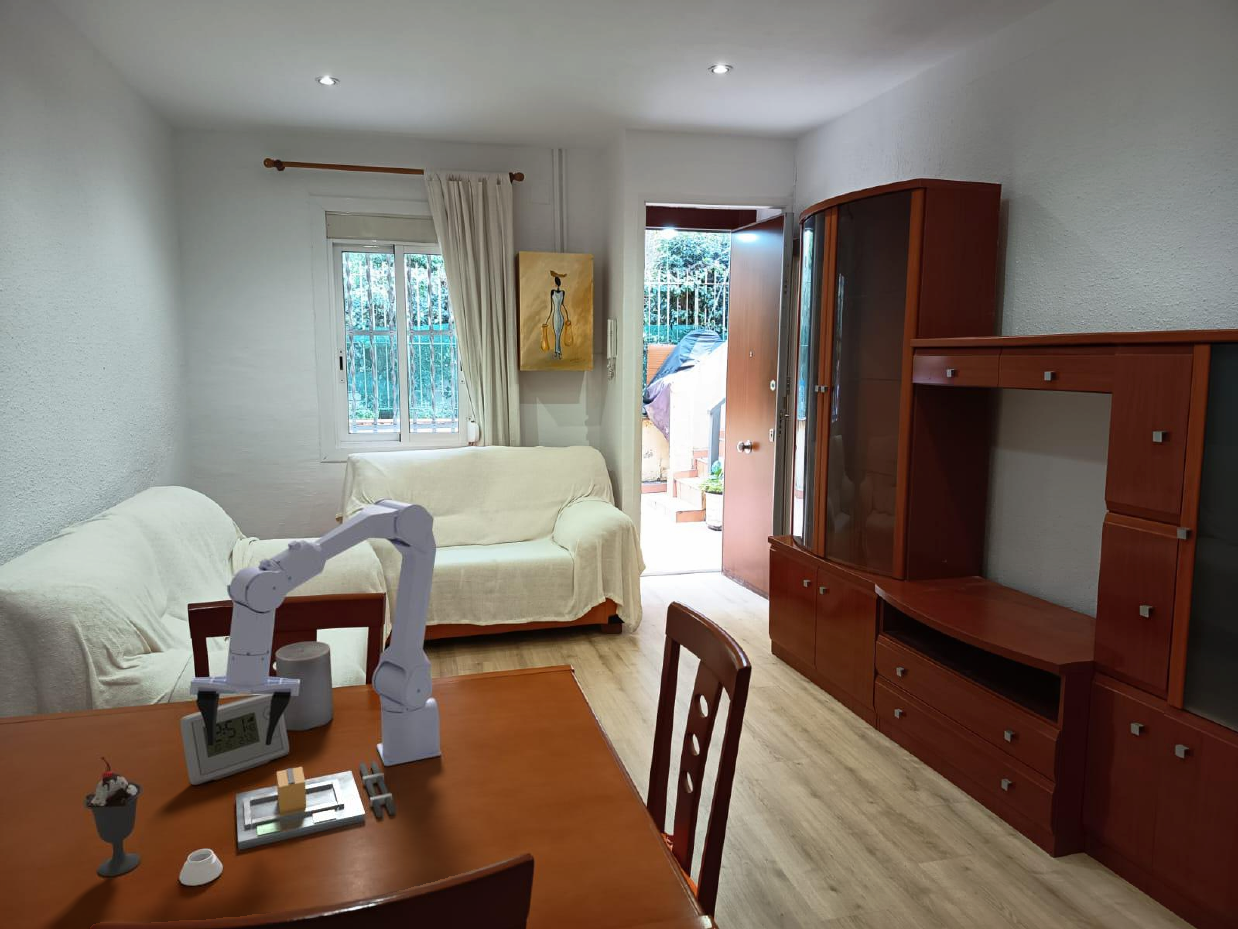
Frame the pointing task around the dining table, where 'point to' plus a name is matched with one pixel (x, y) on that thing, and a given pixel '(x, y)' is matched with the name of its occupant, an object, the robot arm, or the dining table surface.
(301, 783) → the cardboard box
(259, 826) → the grey metal tray
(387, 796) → the cable bundle
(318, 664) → the pillar candle
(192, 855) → the white hollow cone ring
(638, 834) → the dining table surface
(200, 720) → the digital clock
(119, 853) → the sundae
